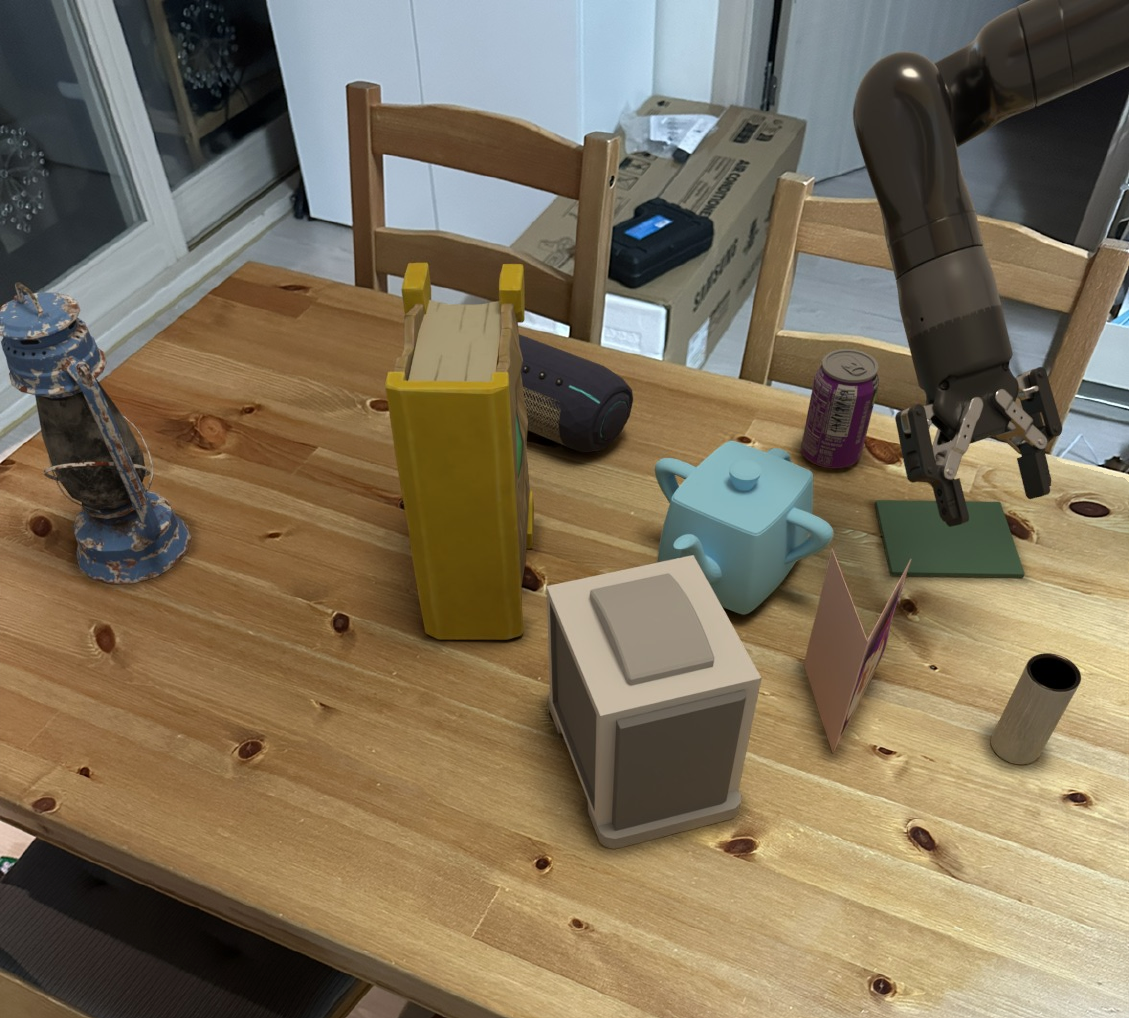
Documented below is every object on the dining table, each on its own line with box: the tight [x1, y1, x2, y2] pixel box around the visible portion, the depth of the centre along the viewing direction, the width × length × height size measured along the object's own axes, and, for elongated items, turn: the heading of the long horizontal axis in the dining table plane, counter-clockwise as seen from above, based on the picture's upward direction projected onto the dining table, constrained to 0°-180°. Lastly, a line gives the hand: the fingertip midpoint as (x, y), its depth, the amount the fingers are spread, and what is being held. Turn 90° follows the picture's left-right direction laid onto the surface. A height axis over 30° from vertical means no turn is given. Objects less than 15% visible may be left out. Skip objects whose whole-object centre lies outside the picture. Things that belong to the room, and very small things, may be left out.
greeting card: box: [803, 548, 911, 754], centre depth 97 cm, size 11×7×15 cm, turn 151°
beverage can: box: [800, 348, 880, 469], centre depth 122 cm, size 7×7×12 cm
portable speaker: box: [519, 333, 634, 453], centre depth 127 cm, size 25×10×10 cm, turn 55°
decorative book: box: [384, 262, 535, 641], centre depth 102 cm, size 20×11×30 cm, turn 177°
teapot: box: [654, 440, 834, 616], centre depth 108 cm, size 18×16×14 cm
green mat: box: [874, 499, 1026, 579], centre depth 117 cm, size 14×12×1 cm
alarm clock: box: [546, 555, 762, 850], centre depth 92 cm, size 18×13×18 cm
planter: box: [990, 652, 1082, 765], centre depth 95 cm, size 4×4×10 cm
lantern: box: [0, 282, 193, 585], centre depth 106 cm, size 15×12×30 cm
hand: (999, 510), depth 90 cm, fingers open, 8 cm apart
